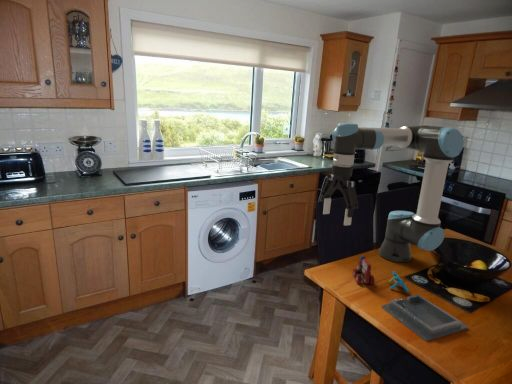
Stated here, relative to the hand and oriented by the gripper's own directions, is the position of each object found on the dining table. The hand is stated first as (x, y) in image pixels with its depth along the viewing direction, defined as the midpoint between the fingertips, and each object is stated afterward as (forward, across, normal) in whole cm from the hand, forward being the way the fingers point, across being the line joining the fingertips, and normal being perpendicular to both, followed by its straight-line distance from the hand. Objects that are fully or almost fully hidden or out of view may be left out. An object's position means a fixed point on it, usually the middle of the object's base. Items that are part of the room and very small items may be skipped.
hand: (336, 219), depth 132 cm
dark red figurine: (+30, 0, +18) cm, 35 cm away
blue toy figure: (+31, +12, +30) cm, 44 cm away
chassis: (+29, +29, +21) cm, 46 cm away
